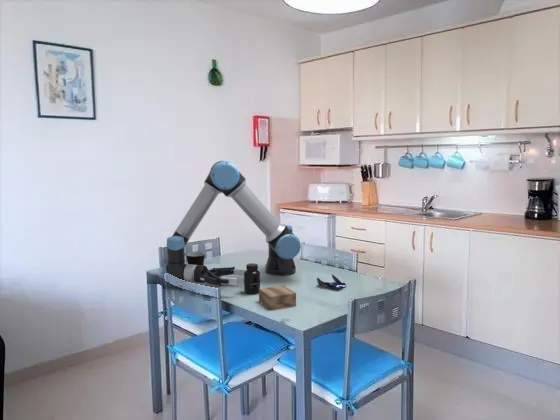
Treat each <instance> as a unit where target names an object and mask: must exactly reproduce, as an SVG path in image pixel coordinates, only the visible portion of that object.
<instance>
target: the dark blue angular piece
mask: <svg viewBox="0 0 560 420" xmlns="http://www.w3.org/2000/svg"><path fill="white" fill-rule="evenodd" d="M331 278H332V279H333V281H331V282H328V281H323V280H321V279H320V278H319V277H317V278H316V282H317V284H318V286H323V287H326V288H328V289H330V288H331V289H335V290H339V289H341V288H342V289H345V287H343V286H339V287H336V286H337V285H346V282H342V281H341V280H340V279H339V278H338V277H336V275H334V274H331ZM346 286H347V285H346Z"/></svg>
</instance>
